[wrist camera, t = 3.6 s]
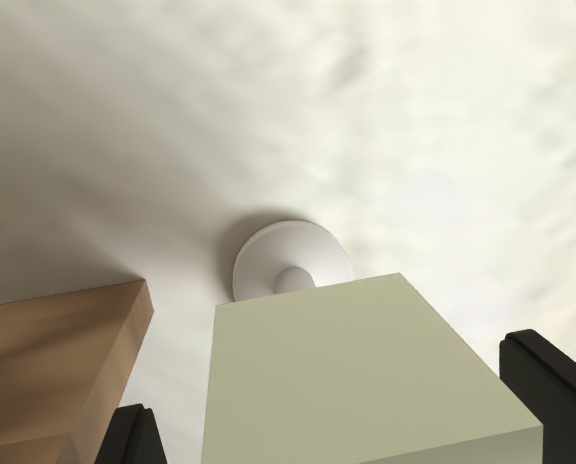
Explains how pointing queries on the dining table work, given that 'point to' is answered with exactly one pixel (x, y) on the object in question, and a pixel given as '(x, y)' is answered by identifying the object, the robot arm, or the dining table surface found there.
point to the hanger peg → (347, 368)
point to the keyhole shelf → (67, 370)
